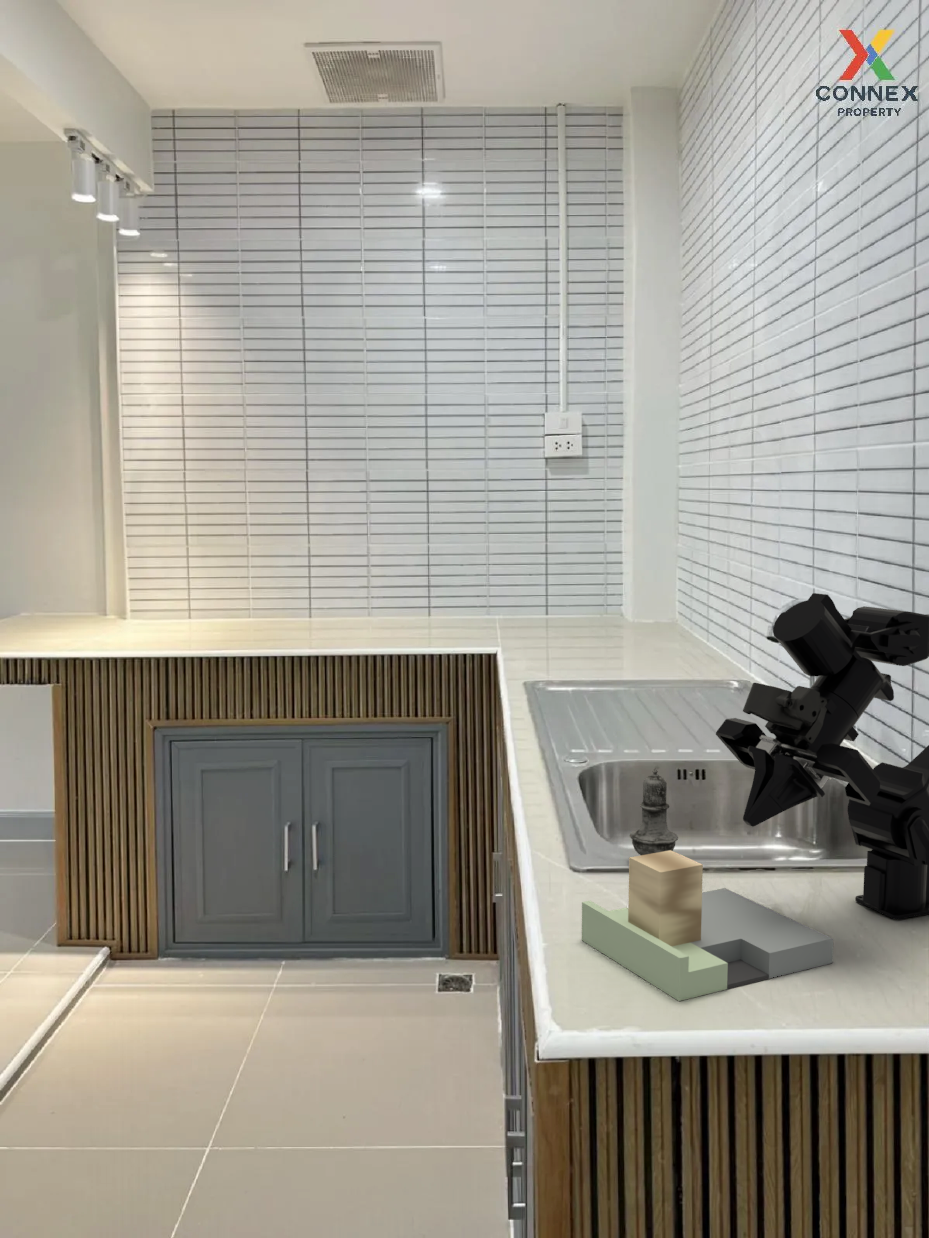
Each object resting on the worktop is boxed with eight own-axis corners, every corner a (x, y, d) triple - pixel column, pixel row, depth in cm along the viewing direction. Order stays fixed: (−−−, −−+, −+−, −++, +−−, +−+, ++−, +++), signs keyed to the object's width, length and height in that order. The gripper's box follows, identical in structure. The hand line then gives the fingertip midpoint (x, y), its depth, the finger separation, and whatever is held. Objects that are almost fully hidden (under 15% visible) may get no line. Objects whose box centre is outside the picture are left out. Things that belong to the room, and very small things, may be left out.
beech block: (669, 922, 117) (670, 850, 116) (700, 939, 112) (702, 864, 112) (628, 931, 115) (629, 857, 114) (658, 949, 110) (660, 872, 109)
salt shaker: (644, 874, 139) (646, 775, 138) (620, 859, 145) (621, 764, 143) (687, 868, 141) (689, 771, 140) (661, 854, 147) (663, 760, 145)
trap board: (724, 910, 127) (725, 874, 127) (832, 962, 113) (833, 923, 113) (581, 939, 119) (581, 901, 118) (679, 1000, 105) (679, 958, 104)
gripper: (731, 643, 126) (646, 755, 122) (863, 667, 109) (769, 796, 106) (785, 708, 130) (704, 818, 126) (919, 740, 114) (831, 867, 110)
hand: (747, 823), depth 117 cm, fingers closed
